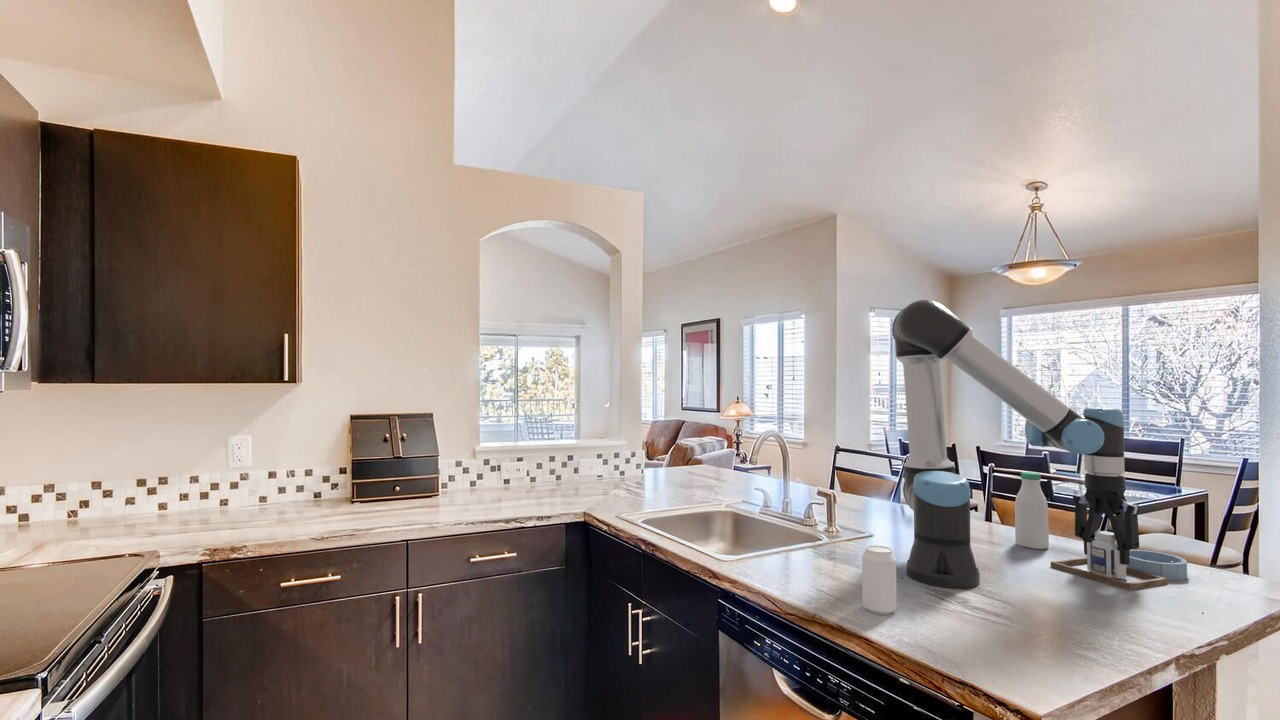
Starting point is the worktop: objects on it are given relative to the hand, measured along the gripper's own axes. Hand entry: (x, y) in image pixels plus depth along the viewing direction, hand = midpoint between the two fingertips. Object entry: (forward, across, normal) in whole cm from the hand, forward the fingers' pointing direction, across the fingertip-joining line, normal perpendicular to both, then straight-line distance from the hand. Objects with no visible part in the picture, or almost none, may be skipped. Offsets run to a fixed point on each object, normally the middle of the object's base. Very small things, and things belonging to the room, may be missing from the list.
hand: (1106, 573), depth 143 cm
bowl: (0, -2, -13) cm, 13 cm away
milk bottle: (+1, +24, -7) cm, 25 cm away
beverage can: (+1, -1, +66) cm, 66 cm away
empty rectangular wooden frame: (0, 0, 0) cm, 0 cm away
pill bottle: (+1, 0, 0) cm, 1 cm away
